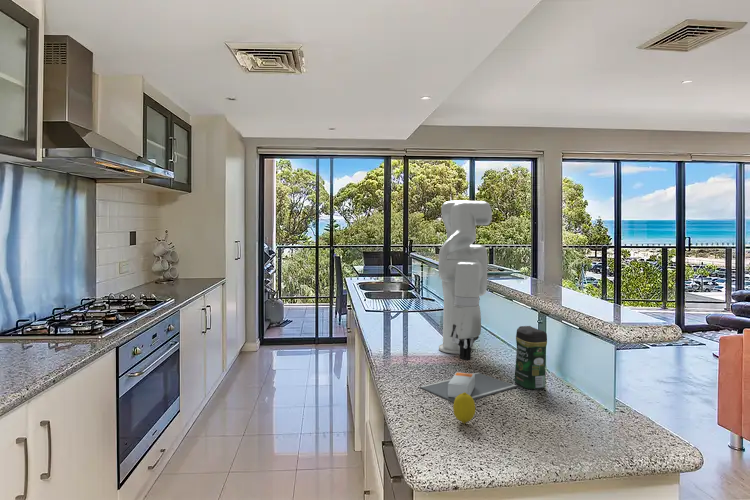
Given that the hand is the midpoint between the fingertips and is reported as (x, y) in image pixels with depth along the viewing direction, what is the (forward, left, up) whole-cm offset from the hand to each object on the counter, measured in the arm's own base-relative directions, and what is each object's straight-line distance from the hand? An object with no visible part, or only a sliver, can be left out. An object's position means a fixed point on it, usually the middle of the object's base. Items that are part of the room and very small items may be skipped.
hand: (465, 359), depth 151 cm
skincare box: (+1, +1, -6) cm, 6 cm away
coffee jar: (-18, +11, -9) cm, 23 cm away
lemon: (+21, +20, -9) cm, 30 cm away
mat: (0, +2, -8) cm, 8 cm away
